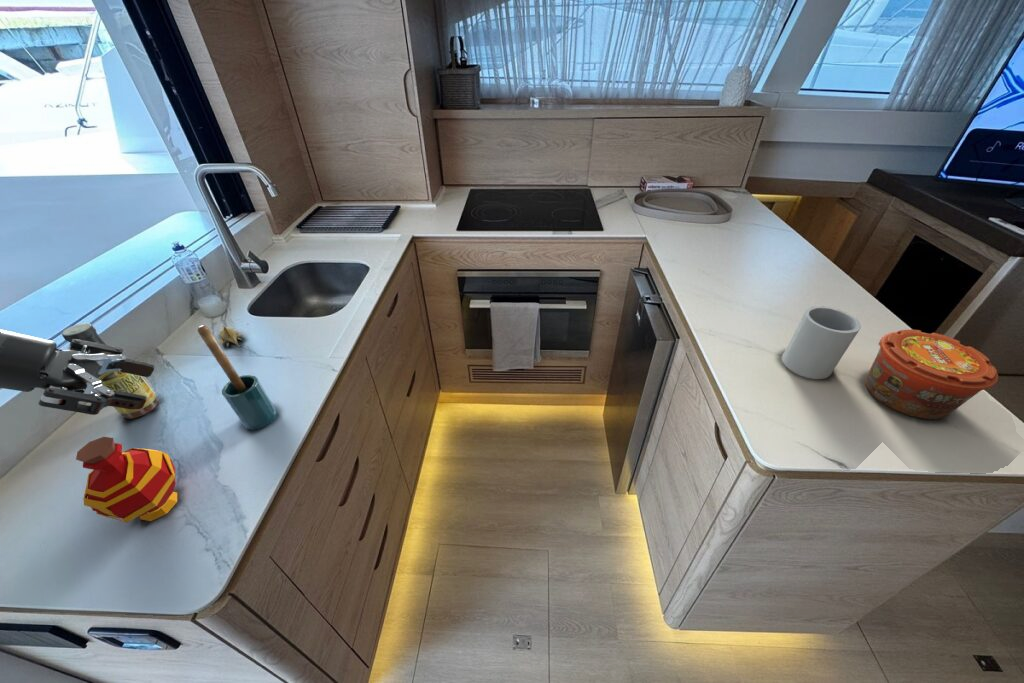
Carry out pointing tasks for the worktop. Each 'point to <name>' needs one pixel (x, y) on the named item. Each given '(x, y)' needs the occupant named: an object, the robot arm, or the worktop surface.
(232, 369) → the stick grenade
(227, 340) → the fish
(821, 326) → the cup
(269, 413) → the teal cylindrical holder
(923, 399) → the food container
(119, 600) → the worktop surface
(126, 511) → the potion bottle
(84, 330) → the sauce bottle
